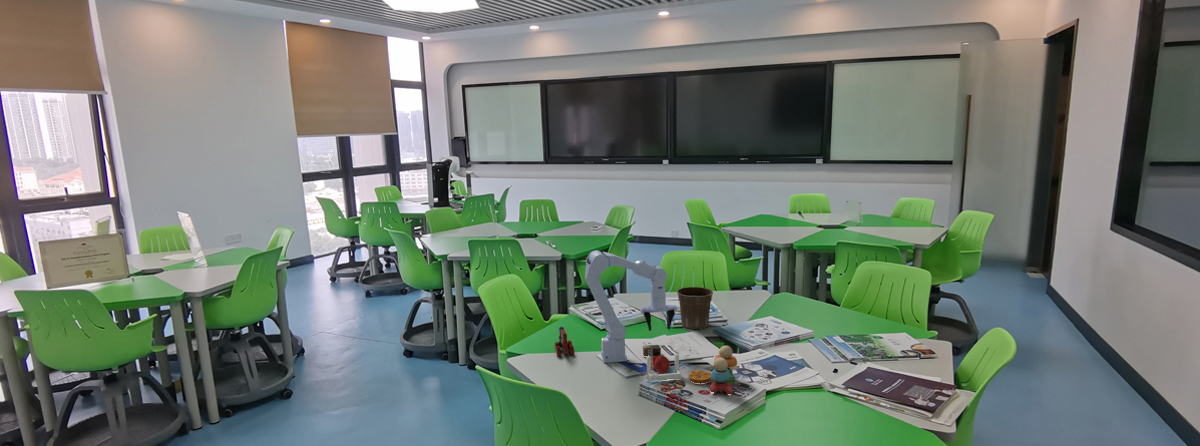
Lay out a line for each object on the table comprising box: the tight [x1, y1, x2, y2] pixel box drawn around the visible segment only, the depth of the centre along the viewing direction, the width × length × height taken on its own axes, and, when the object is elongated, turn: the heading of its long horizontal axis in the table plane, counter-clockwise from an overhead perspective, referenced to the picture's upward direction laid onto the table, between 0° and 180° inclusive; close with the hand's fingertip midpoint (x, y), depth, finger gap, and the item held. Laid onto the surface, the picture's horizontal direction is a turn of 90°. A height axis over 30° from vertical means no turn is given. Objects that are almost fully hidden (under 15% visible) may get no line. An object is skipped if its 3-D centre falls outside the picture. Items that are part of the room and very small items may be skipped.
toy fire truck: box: [554, 326, 575, 357], centre depth 241 cm, size 7×12×10 cm, turn 11°
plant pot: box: [676, 286, 714, 330], centre depth 268 cm, size 16×16×16 cm
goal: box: [645, 353, 682, 382], centre depth 213 cm, size 12×5×8 cm, turn 97°
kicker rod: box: [645, 344, 662, 370], centre depth 230 cm, size 5×19×7 cm, turn 7°
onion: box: [654, 353, 671, 374], centre depth 216 cm, size 6×6×8 cm
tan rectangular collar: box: [642, 344, 655, 357], centre depth 235 cm, size 6×2×4 cm, turn 97°
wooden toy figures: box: [688, 345, 738, 395], centre depth 205 cm, size 18×17×12 cm
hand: (659, 329), depth 236 cm, fingers open, 7 cm apart
